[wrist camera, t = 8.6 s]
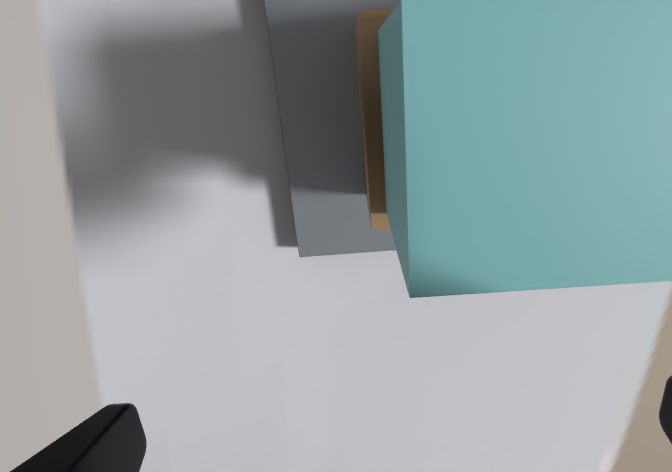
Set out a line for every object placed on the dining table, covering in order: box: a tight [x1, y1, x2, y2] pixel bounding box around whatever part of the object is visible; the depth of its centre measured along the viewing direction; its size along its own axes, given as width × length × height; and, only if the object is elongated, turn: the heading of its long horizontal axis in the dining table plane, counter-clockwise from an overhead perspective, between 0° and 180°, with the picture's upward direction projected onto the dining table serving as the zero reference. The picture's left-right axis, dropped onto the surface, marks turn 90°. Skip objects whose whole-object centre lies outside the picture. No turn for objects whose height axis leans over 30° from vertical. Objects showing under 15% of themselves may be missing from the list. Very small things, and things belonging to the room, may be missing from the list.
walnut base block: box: [355, 7, 395, 231], centre depth 13 cm, size 6×6×4 cm
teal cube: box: [378, 0, 672, 298], centre depth 9 cm, size 5×5×5 cm
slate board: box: [264, 0, 401, 257], centre depth 16 cm, size 11×12×1 cm
